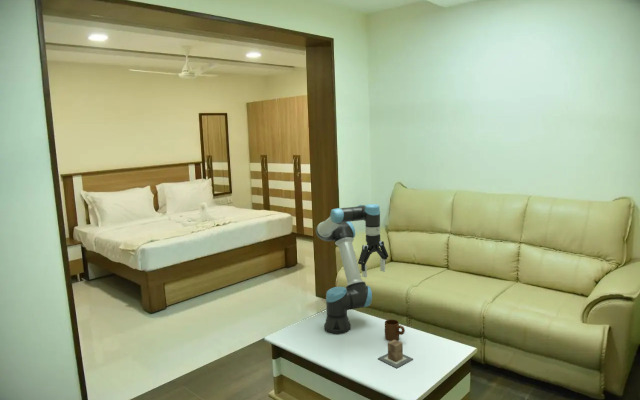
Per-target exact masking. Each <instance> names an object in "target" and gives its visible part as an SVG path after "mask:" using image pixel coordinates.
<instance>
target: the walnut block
mask: <svg viewBox="0 0 640 400" xmlns="http://www.w3.org/2000/svg"><path fill="white" fill-rule="evenodd" d="M403 345H404V344H403V342H401V341H399V340H393V341H387V353H388V359H391V360H393V361H395V362H397V361H399V360H401V359H403V354H404V353H403Z"/></svg>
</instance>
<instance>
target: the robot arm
mask: <svg viewBox="0 0 640 400" xmlns="http://www.w3.org/2000/svg"><path fill="white" fill-rule="evenodd" d="M329 214H330V215H329V217H328V218H327V219H325V220H324V221H321V222H320V223H318V225H316V228H315V234H316V236H317V238H319V239H320V240H322V241H325V242H333V241H334V244H335V245H336V246H338V250H339V254H340V258H341V262H342V267H343V270H344V275H345V278H346V283H347V284H346V286H345V287H344V286H335V287H331V288H329V289H328V290H327V291H326V292H325V293H326V294H325V296H326V297H325V301H326V302H325V303H326V304H325V306H326V317H325V321H324V324H323V327H324V328H323V329H324V331H325V332H326V333H327V334H332V335H343V334H347V333H348V332H350V331H351V330H352V329H351V326H352V325H351V322H350V320H349V316H348V311H349V310H355V309H360V308H363V309H364V308H366V307H369V306H370V305H371V304H372V301H373V293H372V289H371V286H370V285H367V284H366V282H365V281H364V280H363V279H362V277H363V278H368V271H367V270H368V264H367V262H368V260H369V258H370V257H371V255H372V254H373V253H377V255H378V256H379V257H380V260H379V261H380V262H379V263H380V264H379V265H380V267H379V269H380V272H383V273H385V272H386V260H387V259H388V257H389V253H388V251H387V248H386V247H385V242H384V241H382V240H381V209H380V205H379V204H377V203H369V204H366V205H365V204H358V205H357V206H352V207H349V206H347V207H341V208H339V207H337V208H333V209H331V210H330V213H329ZM357 221H358V222H359V221H365V222H364V223H365V225H364V226H365V242H366V245H364V244H363V245H362V247H361V251H360V255H359V257H358V260H357V256H356V253H355V249H354V245H353V242H354V238H355V237H356V229H355V226H354V225H353V222H357ZM359 265H360V267H361V269H360V267H359ZM360 270H361V272H360ZM361 274H362V275H361Z"/></svg>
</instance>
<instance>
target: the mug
mask: <svg viewBox="0 0 640 400" xmlns="http://www.w3.org/2000/svg"><path fill="white" fill-rule="evenodd" d="M400 329H401V330H400ZM405 333H406V329H405V327H404V326H403V325H400V322H399V321H398V320H397V319H391V318H390V319H387V320H385V321H384V338H385V340H386V341H387V342H391V341H393V340H397V341H399V339H400V336H401V335H403V334H405Z"/></svg>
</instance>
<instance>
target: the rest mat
mask: <svg viewBox="0 0 640 400" xmlns="http://www.w3.org/2000/svg"><path fill="white" fill-rule="evenodd" d="M377 360H379V361H380V362H383V363H384V364H387V365H388V366H390V367H392V368H394V369H398V368H401V367H403V366H404V365H407V364H408V363H409V362H411V361H413V360H414V358H412V357H410V356H408V355H405V354H404V353H403V359H401V360H399V361H397V362H395V361H393V360H391V359H388V352H387V353H386V354H383V355H382V356H379V357H377Z"/></svg>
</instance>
